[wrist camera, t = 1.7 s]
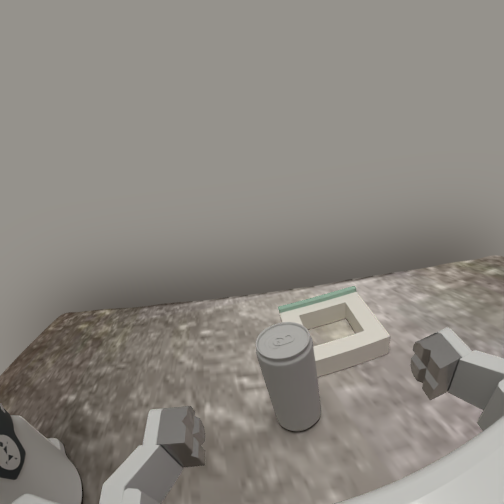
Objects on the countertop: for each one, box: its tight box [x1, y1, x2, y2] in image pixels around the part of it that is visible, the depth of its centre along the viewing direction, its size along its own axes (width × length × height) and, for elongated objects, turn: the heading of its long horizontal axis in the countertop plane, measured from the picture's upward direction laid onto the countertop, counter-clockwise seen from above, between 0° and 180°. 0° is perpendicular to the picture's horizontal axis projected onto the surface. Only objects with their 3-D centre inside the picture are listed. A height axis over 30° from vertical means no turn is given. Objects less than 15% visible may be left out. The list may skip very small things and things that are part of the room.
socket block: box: [278, 286, 390, 377], centre depth 37 cm, size 12×12×4 cm
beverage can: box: [256, 322, 321, 431], centre depth 25 cm, size 5×5×12 cm
